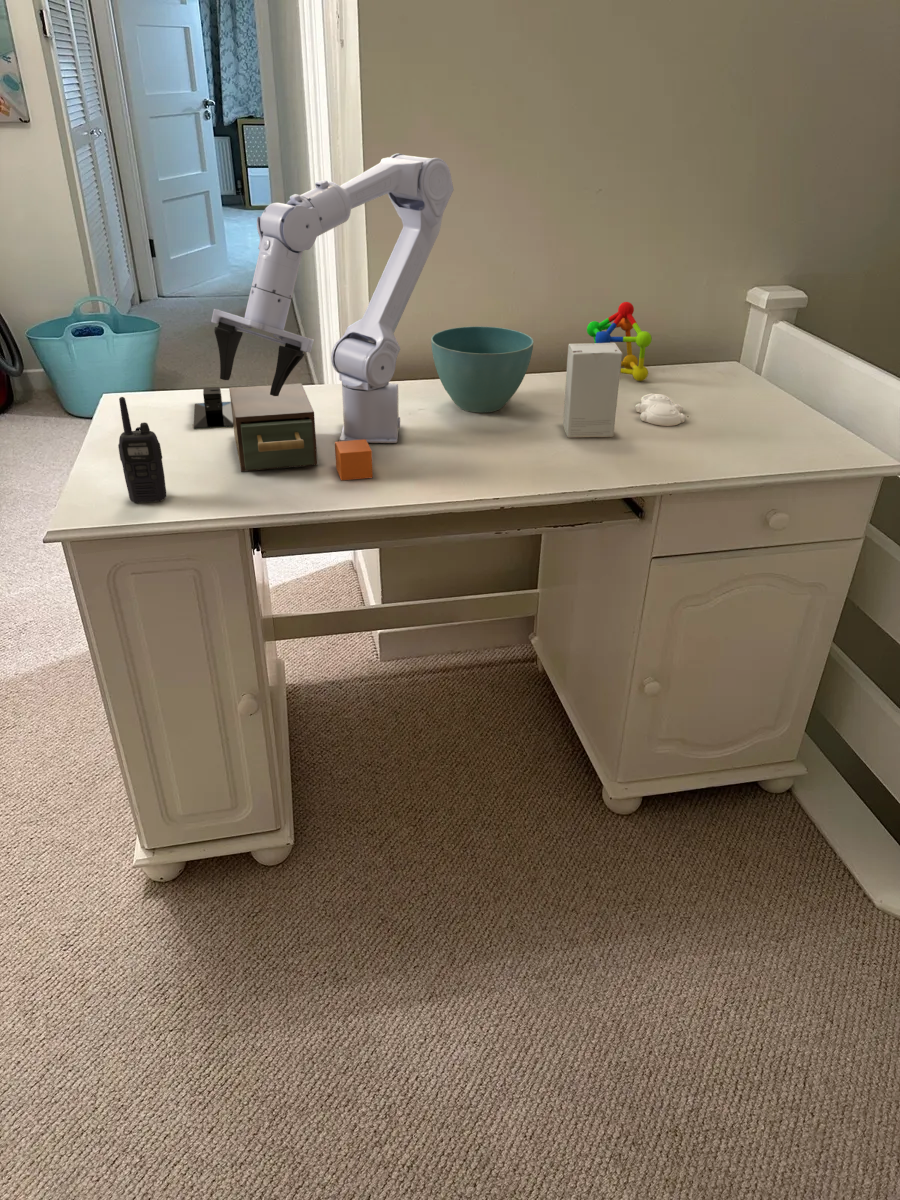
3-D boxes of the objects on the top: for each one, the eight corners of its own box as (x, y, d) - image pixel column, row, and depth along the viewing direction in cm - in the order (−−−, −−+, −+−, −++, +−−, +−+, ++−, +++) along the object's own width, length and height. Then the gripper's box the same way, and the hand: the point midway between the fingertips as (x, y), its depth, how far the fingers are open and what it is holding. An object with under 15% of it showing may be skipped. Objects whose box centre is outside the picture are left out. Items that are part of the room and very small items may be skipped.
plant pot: (473, 429, 149) (476, 359, 142) (410, 401, 161) (410, 334, 154) (548, 409, 159) (554, 342, 152) (484, 384, 170) (487, 321, 164)
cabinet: (317, 465, 134) (314, 411, 129) (241, 471, 131) (235, 417, 127) (305, 433, 145) (301, 383, 141) (234, 438, 143) (229, 387, 138)
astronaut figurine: (680, 405, 162) (683, 390, 161) (686, 427, 152) (688, 411, 151) (633, 402, 163) (635, 386, 162) (635, 424, 153) (638, 407, 152)
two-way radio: (126, 505, 120) (106, 400, 112) (131, 492, 124) (112, 390, 116) (167, 503, 121) (150, 399, 113) (170, 490, 125) (154, 388, 117)
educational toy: (573, 372, 182) (578, 298, 175) (628, 369, 185) (635, 296, 178) (604, 388, 168) (610, 308, 162) (663, 384, 172) (672, 306, 165)
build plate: (236, 427, 147) (233, 401, 145) (192, 430, 146) (188, 403, 143) (234, 403, 157) (231, 378, 155) (193, 405, 156) (189, 380, 153)
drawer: (319, 476, 128) (316, 433, 124) (248, 483, 125) (243, 438, 122) (303, 434, 143) (300, 394, 139) (239, 439, 140) (234, 398, 136)
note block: (372, 477, 130) (371, 450, 128) (341, 480, 129) (339, 453, 127) (366, 465, 134) (365, 439, 132) (335, 468, 133) (334, 441, 131)
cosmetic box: (607, 426, 152) (617, 341, 144) (613, 439, 147) (625, 351, 139) (559, 426, 151) (568, 340, 144) (564, 438, 146) (573, 351, 138)
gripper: (212, 274, 118) (191, 371, 122) (312, 305, 118) (288, 402, 121) (230, 280, 125) (210, 372, 129) (325, 310, 125) (301, 402, 128)
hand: (249, 387), depth 125 cm, fingers open, 7 cm apart
